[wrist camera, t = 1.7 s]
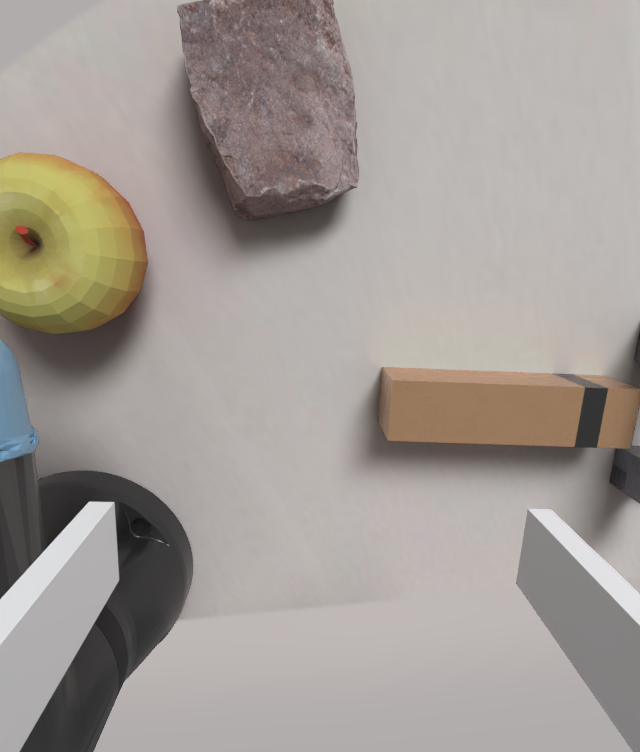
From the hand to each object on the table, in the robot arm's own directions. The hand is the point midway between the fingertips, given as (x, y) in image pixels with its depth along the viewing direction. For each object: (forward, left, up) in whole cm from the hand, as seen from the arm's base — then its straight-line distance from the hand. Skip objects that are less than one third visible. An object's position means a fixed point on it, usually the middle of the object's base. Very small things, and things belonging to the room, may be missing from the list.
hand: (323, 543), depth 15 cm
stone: (-3, +18, -19) cm, 26 cm away
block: (+13, 0, -19) cm, 23 cm away
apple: (-15, +9, -19) cm, 26 cm away
